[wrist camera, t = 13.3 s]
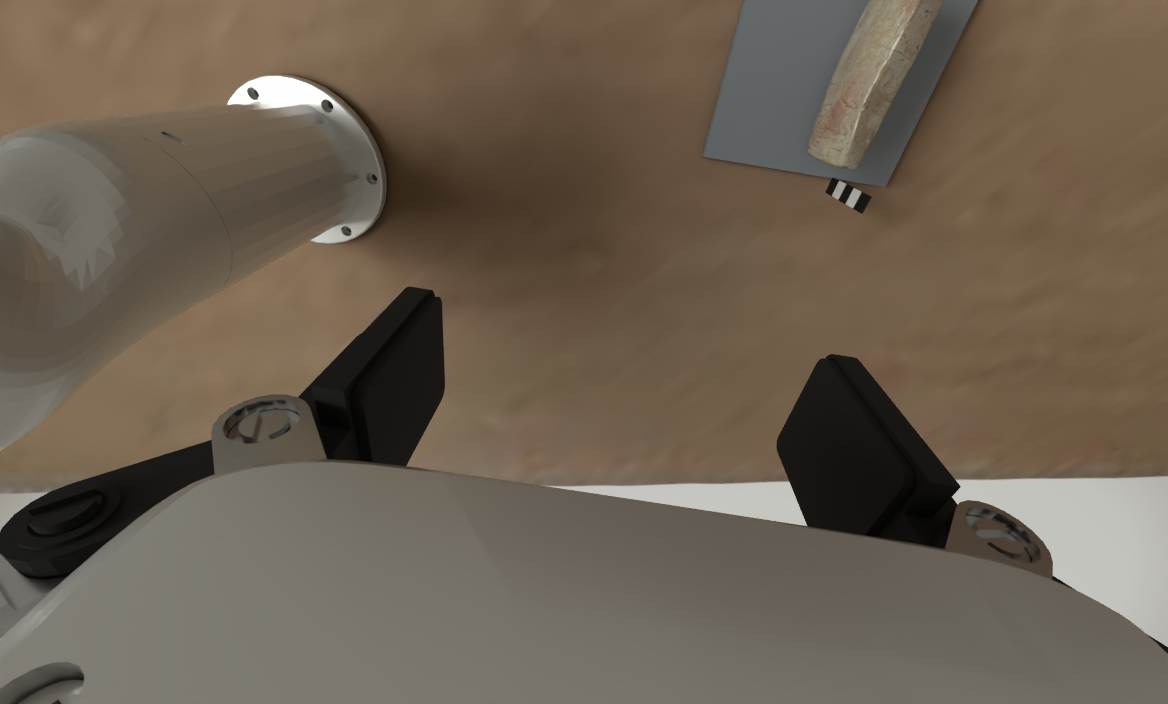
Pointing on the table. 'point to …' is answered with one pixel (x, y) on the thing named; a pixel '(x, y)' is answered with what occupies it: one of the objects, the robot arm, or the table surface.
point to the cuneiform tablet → (868, 85)
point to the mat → (814, 86)
